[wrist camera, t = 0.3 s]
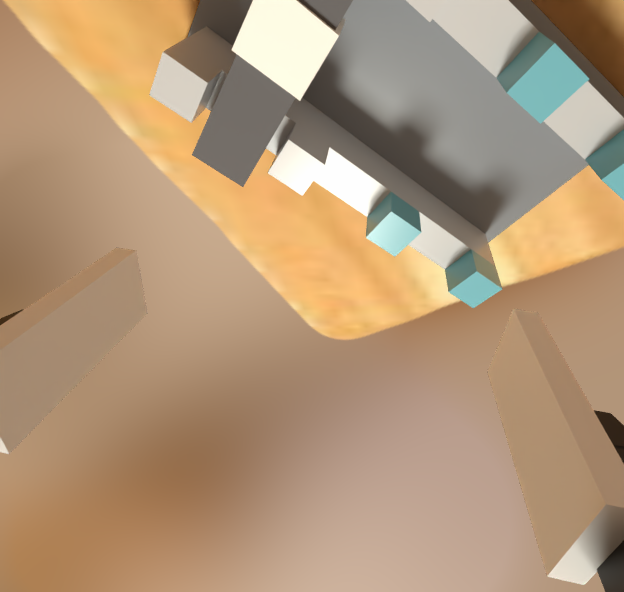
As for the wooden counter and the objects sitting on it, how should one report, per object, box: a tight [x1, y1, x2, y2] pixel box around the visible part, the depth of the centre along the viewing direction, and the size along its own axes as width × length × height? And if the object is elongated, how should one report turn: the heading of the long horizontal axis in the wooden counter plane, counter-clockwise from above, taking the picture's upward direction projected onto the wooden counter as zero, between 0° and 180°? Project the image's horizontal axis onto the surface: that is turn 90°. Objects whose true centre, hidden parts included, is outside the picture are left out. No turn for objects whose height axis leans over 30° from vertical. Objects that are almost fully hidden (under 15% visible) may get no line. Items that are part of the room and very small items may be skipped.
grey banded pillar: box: [192, 0, 353, 187], centre depth 23 cm, size 19×5×5 cm, turn 147°
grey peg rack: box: [149, 0, 624, 308], centre depth 28 cm, size 18×32×9 cm, turn 57°
